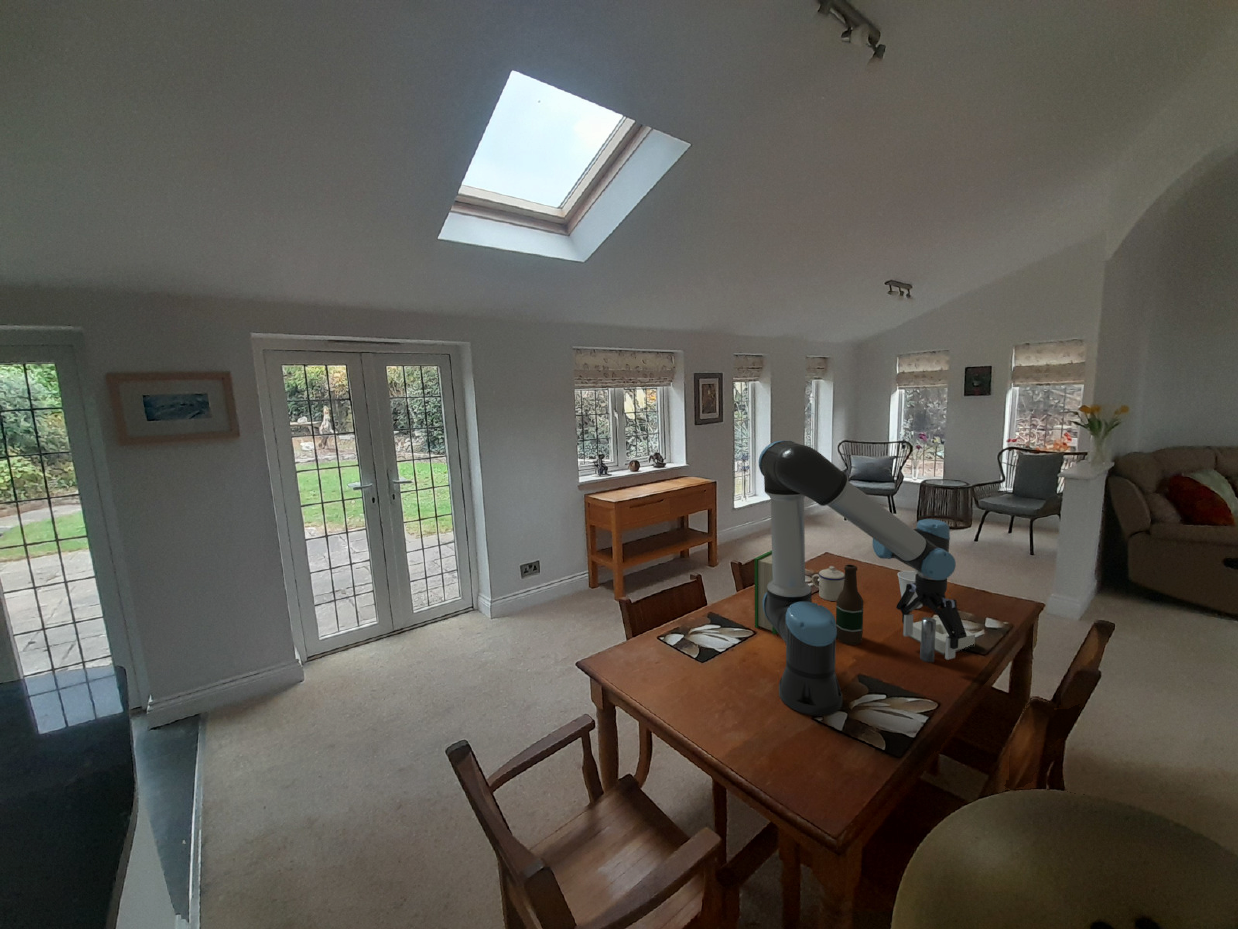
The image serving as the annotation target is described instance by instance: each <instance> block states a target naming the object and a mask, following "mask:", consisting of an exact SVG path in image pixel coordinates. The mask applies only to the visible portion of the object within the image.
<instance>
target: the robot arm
mask: <svg viewBox="0 0 1238 929" xmlns="http://www.w3.org/2000/svg"><path fill="white" fill-rule="evenodd" d="M758 469H759V472H760V473H761V475H762V476H763V480H764V481H763V483H764V484H763V486H764V493H765V494H766V495H767V496H768V497H769V499H770V527H771V528H770V529H771V532H770V533H771V534H770V535H771V550H772V575H773V580H772V581H771V582H770V583H768V585H767V593H765V595H764V598H763V610H764V613H765V616H766V618H767V619H768V621H769V622H770V624H771V625H773V627H774V628H775V629H776V631H777V632H778V633H777V634H778V635H779V636H780V638H782V640H783V641H784V642H785V646H786V647H785V649H786V650H785V668H784V671H783V673H782V677H781V678H780V680H779V682H778V696H779V698H780V699H781V701H782V702H783V703H784V704H785V705H786V706H787V707H788V708H790V709H792V710H794V711H796V712H798V713H801V714H804V715H808V716H813V717H815V716H817V717H822V716H825V717H826V716H830V715H833V714H836V713H837V712H839V711H840V710H841V708H842V707H843V693H842V692H843V691H842V690H841V687H840V683H839V680H838V678H837V675H836V654H837V653H836V651H837V650H836V649H837V646H836V645H837V638H836V635H837V628H836V617H835V616H834V614H833V613H832V612H831V611H830V610H829V608H827V607H826V606H823V605H821V604H820V605H818V603H815V602H812V587H811V586H810V584H808V583H807V581H806V550H805V549H806V546H805V544H806V543H805V542H806V541H805V539H806V538H805V533H806V532H805V498H808V499H810V500H812V501H813V502H815V503H816V504H818V505H819V506H821V507H824V506H828V507H829V508H830V509H832V510H833V511H835V512H836V513H837V514H839V515H840V516H842V517H843V518H844V519H846V520H847V521H848V522H850V523H851V524H852V525H854V526H855V527H857V529H859V530H861V531H862V532H863V533H864V534H867V535H868V536H869V537H871V538H872V544H871V545H872V549H873V551H874V553H875V555H876V556H877V557H878V558H879V559H882V560H883V559H887V560H891V559H894V560H895V559H896V560H897V561H899V562H900V563H903V564H905V565H906V566H908V567H910V568H912V569H913V570H915V572H916V573H917V574H916V575H915V583H911V584H907V585H906V591H905V592H904V594H903V596H902V598H900V599H899V601H898V603H897V604H896V609H897V610H899V611H900V612H901V614H902V615H901V616H902V618H901V622H902V624H903V632H902V635H903V637H909V636H910V635H913V623H914V613H913V611H914V610H915V609H916V608H917V607H918V606H919V605H921V604H922V605H923V606H924V607H927V608H928V609H930V610H932V611H933V612H934V614H936V615H937V616H938V617H939V618H940V620H941V622H942V624H943V625H944V627H945V629H946V631H947V633H948V634H949V635H948V636H946V648H945V655H944V659H946V660H947V661H948V660H952V659H955V658H956V652H955V651H956V649H957V648H958V640H959V639H960V638H964V637H967V635H966V632H965V630H966V629H965V626H964V624H963V622H962V618H961V616H960V614H959V610H958V603H957V599H949V598H946V592H947V590H948V578H950V577H951V576H952V575H953V573H954V572H955V570H956V568H957V567H956V566H957V565H956V558H954V556H953V554H951V553H950V552H949V550H950V540H951V538H950V537H951V535H950V532H951V531H950V526H949V524H948V523H947V522H945V521H942V520H940V519H931V518H926V519H920V520H918V521H917V525H916V528H912V527H911V526H909V525H908V524H907V523H905V522H904V521H903V520H902V519H900V518H899V517H897V516H896V515H894V514H893V513H892V512H890V511H889V510H888V509H886V508H885V507H884V506H882V505H881V504H880V503H878V502H877V501H875V500H874V499H873V498H871V497H870V496H869V495H868V494H866V493H865V492H864V491H863V490H860V488H859V487H857V486H856V485H855V484H853V483H852V482H850V481H849V477H848V474H846V473H845V472H843V470H841V469H840V468H839V467H838V466H836V465H835V464H834V463H833V462H831V461H830V460H829V459H828V458H826V457H825V456H824V455H823V454H821V452H819V451H818V450H816V449H815V448H813V447H811V446H809V445H805V444H802V443H801V444H800V443H797V442H794V441H792V440H776V441H773V442H771V443H769V444H768V445H766V446H765V447H764V448H763V450H762V451H761V453H760V455H759V457H758ZM915 592H916V594H917V597H916V598H915V599H914V600H913V601H912V602H911V603H910V604H909V605H908V603H909V602H910V600H911V598H912V597H913V595H914V593H915ZM923 606H922V607H923ZM953 632H954V633H953Z"/></svg>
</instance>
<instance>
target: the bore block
mask: <svg viewBox="0 0 1238 929" xmlns="http://www.w3.org/2000/svg"><path fill="white" fill-rule="evenodd" d="M932 618H933V617H932ZM933 619H935V620H936V633H935V652H936V653H939V654H940V655H942V656H945V648H946V636H948V635H949V634H948V633H947V631H946V629H945V627H944V625H943V624H942V622H941V620H940V618H939V616H938V617H934V618H933ZM921 628H922V620H919V621H916V622H913V635H910V636H908V637H909V638H910V639H913V640H915V641H916V642H918V643H920V644H921ZM965 632H966V635H967V637H964V638H960V639H959V640H958V648H957V649H956V651H955V653H956V652H960V650H961V651H963V650H962V649H964V648H965V647H968V646H970V645H973V644H974V645H975V642H976V641H975V639H976V634H975V633H973V632H970V631H968V630H966V629H965ZM953 633H954V632H953Z"/></svg>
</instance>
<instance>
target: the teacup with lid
mask: <svg viewBox="0 0 1238 929" xmlns="http://www.w3.org/2000/svg"><path fill="white" fill-rule="evenodd" d="M828 567H829V568H826V569H825V568H824V569H821V570H820V571H819V572H818V574H813V575H812V576H811V581H812V583H813V586H815V587H816V588H818V591H819V592H818V595H819V597H820V598H822V599H823V600H826V601H829V602H837V599H838V596H839V594H840V592H841V591H842V590H843V587H844V577H845V572H842V571H840V570H838V569H836V567H835V566H833V565H830V566H828ZM817 577H818V578H819V579H818V582H819V583H817V582H816V579H815V578H817Z"/></svg>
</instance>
